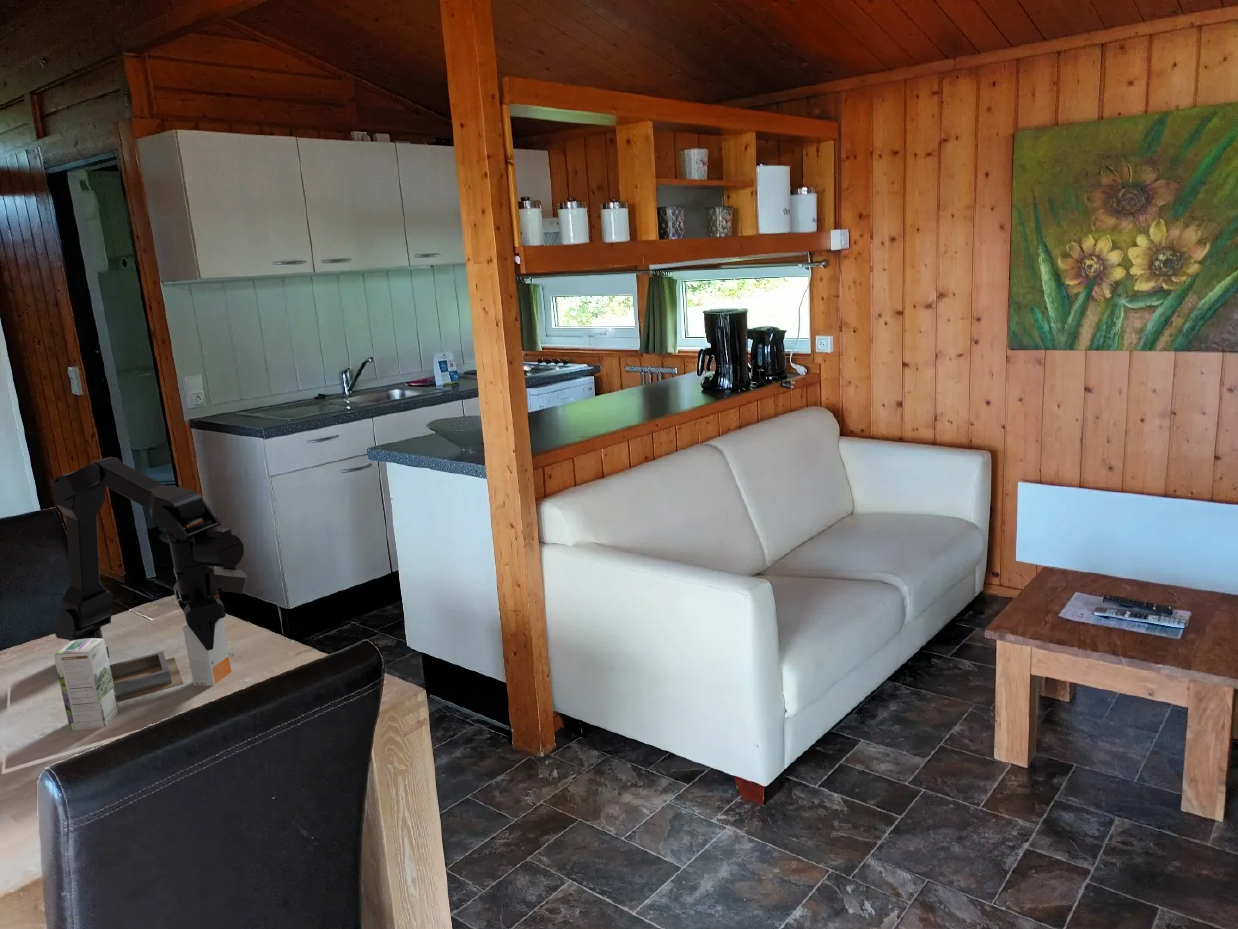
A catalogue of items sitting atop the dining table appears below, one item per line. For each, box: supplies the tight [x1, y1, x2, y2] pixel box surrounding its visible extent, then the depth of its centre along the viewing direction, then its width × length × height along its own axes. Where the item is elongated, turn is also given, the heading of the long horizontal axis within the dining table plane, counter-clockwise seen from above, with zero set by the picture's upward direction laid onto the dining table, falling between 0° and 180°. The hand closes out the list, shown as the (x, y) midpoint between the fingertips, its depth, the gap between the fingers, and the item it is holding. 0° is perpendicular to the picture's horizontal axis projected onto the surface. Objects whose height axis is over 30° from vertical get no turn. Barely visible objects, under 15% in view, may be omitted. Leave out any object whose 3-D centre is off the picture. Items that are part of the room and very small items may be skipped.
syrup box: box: [53, 638, 120, 732], centre depth 155 cm, size 6×6×14 cm
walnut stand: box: [113, 657, 184, 704], centre depth 170 cm, size 14×14×1 cm
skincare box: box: [182, 618, 233, 687], centre depth 168 cm, size 6×4×12 cm
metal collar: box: [110, 650, 172, 699], centre depth 170 cm, size 10×10×2 cm
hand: (206, 643), depth 168 cm, fingers closed on skincare box, 7 cm apart
